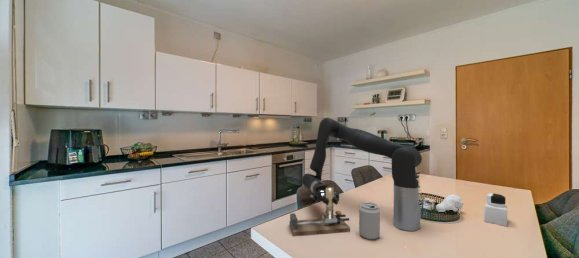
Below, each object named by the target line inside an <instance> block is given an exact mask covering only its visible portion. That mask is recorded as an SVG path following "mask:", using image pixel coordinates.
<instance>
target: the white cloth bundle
mask: <svg viewBox="0 0 579 258" xmlns="http://www.w3.org/2000/svg"><path fill="white" fill-rule="evenodd" d="M463 206H464V202H463V199H462V198H461V197H460V196H458V194H452V193H451V194H449V195H447V196H446V197H444V199H443V200H442V201H441V203H438V204H436V206H435V209H436V211H437V212H438V213H439V212H445V213H447V212H446V211H449V210H453V212H456V211H457V210H458V209H459V214H460V213H461V210H462V209H463Z"/></svg>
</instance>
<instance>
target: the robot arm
mask: <svg viewBox="0 0 579 258" xmlns="http://www.w3.org/2000/svg"><path fill="white" fill-rule="evenodd" d="M318 125H319V126H318V129H317V135H316V136H317V137H316V142H315V143H316V144H315V147H314V152H313V156H312V159H311V161H310V165H309V169H310V170H312V171H313V172H314V173H315V174H311V173H305V174H303V176H302V178H301V184H302V185H303V186H304V187H305V188H306V189H308V190H310V191H311V192H310V195H309V197H310V199H312V200H313V201H316V202H317V203H320V202H321V203H323V204H325V206H326V205H328V199H327V198H326V187H329V186H328V184H326V183H325V182H323V181H322V173H323V169H324V166H325V163H326V159H327V140H328V138H329V137H332V138H336V139H340V140H342V141H344V142H347V144H350V146H351V147H354V148H356V149H357V150H360V151H363V152H366V153H369V154H374V155H378V156H384V157H387V158H389V159H390V160H391V177H392V180H393V221H392V222H393V224H392V225H393V226H394V227H396V229H400V230H403V231H406V232H413V231H414V232H415V231H418V229H421V216H422V215H421V214H422V213H421V212H422V210H421V209H422V208H421V204H420V203H419V188H420V187H419V180H418V178H417V176H416V167H418V166H419V165H420V164H421V163H422V162H423V161H422V160H423V156H422V154H421V153H420V151H419V150H418V149H417V148H415V147H412V146H408V145H404V144H400V143H396V142H393V141H390V140H388V139H386V138H383V137H382V136H378V135H376V134H374V133H371V132H369V131H366V130H363V129H358V128H352V127H348V126H347V125H344V124H342V123H341V122H339V121H337V120H335V119H333V118H331V117H324V118H323V119H321V120H320V122H319V124H318ZM339 201H340V191H339V190H337V191H335V192H334V205H338V203H339Z"/></svg>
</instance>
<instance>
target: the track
mask: <svg viewBox="0 0 579 258" xmlns="http://www.w3.org/2000/svg"><path fill="white" fill-rule="evenodd" d="M334 213H335V214H334V215H336V218H337V219H342V218H343V217H340V215H343V213H342V211H341V210H335V211H334ZM289 218H290V219H289V227H290V230H291V233H292V236H293V237H300V236H311V235H323V234H324V235H325V234H336V233H337V234H338V233H350V232H351V227H350V226H349V225H348V224H347V222H346V221H337V222H336V223H325V222H324V221H323V219H322V218H314V219H312V218H311V219H301V220H299V219H298V217H297V214H296V213H294V212H293V213H290V217H289Z"/></svg>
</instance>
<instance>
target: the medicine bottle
mask: <svg viewBox="0 0 579 258" xmlns="http://www.w3.org/2000/svg"><path fill="white" fill-rule="evenodd" d="M483 216H484V220H483V221H484V222H485V223H489V224H494V225H496V226H497V225H498V226H503V227H508V206H507V205H506V196H504V195H502V194H500V193H493V192H490V193H487V194H486V201H484V215H483Z"/></svg>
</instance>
